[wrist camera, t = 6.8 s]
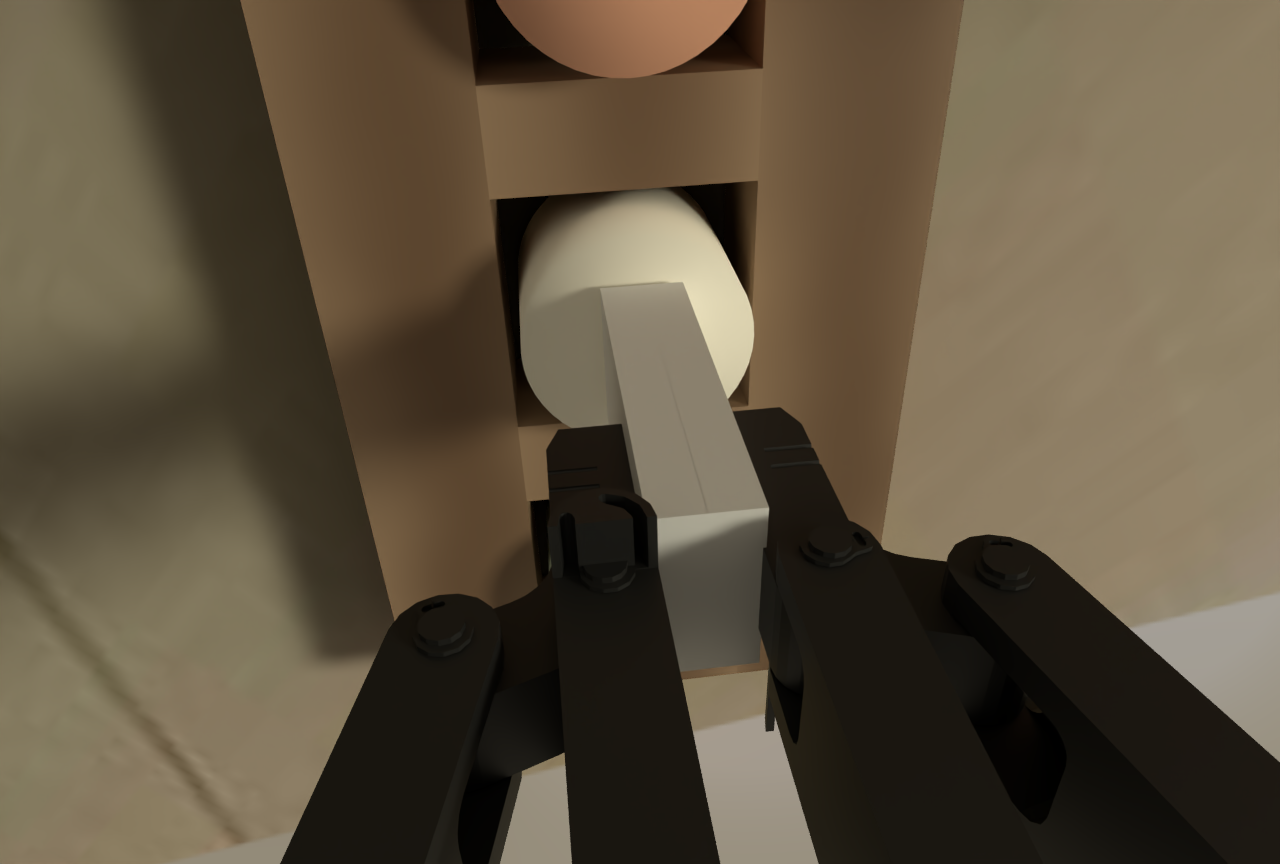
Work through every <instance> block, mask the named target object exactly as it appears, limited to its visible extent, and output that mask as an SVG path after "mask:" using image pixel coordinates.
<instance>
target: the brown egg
mask: <svg viewBox="0 0 1280 864" xmlns="http://www.w3.org/2000/svg"><path fill="white" fill-rule="evenodd" d="M496 1H497V3H498V5H499V7H500V8H501V10H502V11H503V13H504V14H505V15H506V17H507V18H508V19H509V21H510V22H511V23H512V25H513V26H514V27H515V28H516V29H517V30H518V31H519V32H520V33H521V34H522V35H523V36H524V37H525V38H526V40H527V41H529V42H530V43H531V44H532V45H534V46H535V47H536V48H537V49H539V50H540V51H541V52H542V53H544V54H545V55H547V56H549V57H550V58H552V59H554V60H555V61H557V62H558V63H561V64H563V65H565V66H567V67H570V68H572V69H574V70H576V71H580V72H583V73H587V74H590V75H594V76H600V77H607V78H636V77H644V76H650V75H653V74H657V73H661V72H664V71H667V70H669V69H672V68H674V67H677V66H679V65H681V64H683V63H685V62H687V61H688V60H690V59H692V58H693V57H695V56H697V55H699V54H700V53H701V52H702V51H704V50H705V49H706V48H708V47H709V46H710V45H712V44H713V43H714V42H715V41H716V40H717V39H718V38H719V37H720V36H721V35H722V34H723V33H724V32H725V31H726V30H727V29H728V28H729V27H730V25H731V24H732V23H733V21H734V20H735V19H736V18H737V16H738V15H739V14H740V12H741V11H742V9H743V7H744V6H745V4H746V3H747V1H748V0H496Z"/></svg>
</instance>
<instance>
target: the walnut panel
mask: <svg viewBox="0 0 1280 864" xmlns="http://www.w3.org/2000/svg"><path fill="white" fill-rule="evenodd" d="M240 1H241V5H242V9H243V13H244V17H245V21H246V25H247V29H248V33H249V37H250V41H251V45H252V49H253V53H254V57H255V61H256V65H257V69H258V73H259V77H260V81H261V85H262V89H263V93H264V97H265V102H266V106H267V110H268V114H269V118H270V122H271V126H272V130H273V134H274V138H275V142H276V146H277V150H278V154H279V158H280V162H281V166H282V170H283V174H284V178H285V182H286V186H287V190H288V194H289V198H290V202H291V206H292V210H293V214H294V218H295V222H296V226H297V230H298V234H299V238H300V242H301V246H302V251H303V255H304V259H305V263H306V267H307V271H308V275H309V279H310V283H311V287H312V291H313V295H314V299H315V303H316V307H317V311H318V315H319V319H320V323H321V327H322V331H323V335H324V339H325V343H326V347H327V351H328V355H329V359H330V363H331V367H332V371H333V375H334V379H335V383H336V387H337V391H338V395H339V400H340V404H341V408H342V412H343V416H344V420H345V424H346V428H347V432H348V436H349V440H350V444H351V448H352V452H353V456H354V460H355V464H356V468H357V472H358V476H359V480H360V484H361V488H362V492H363V496H364V500H365V504H366V508H367V512H368V516H369V520H370V524H371V528H372V532H373V536H374V540H375V544H376V549H377V553H378V557H379V561H380V565H381V569H382V573H383V577H384V581H385V585H386V589H387V593H388V597H389V601H390V605H391V609H392V613H393V617H394V621H395V620H396V619H397V617H398V616H399V615H400V614H401V613H402V612H404V611H405V610H407V609H408V608H410V607H411V606H412V605H414V604H415V603H417V602H419V601H422V600H425V599H428V598H431V597H434V596H437V595H445V594H458V593H459V594H464V595H468V596H473V597H477V598H479V599H481V600H482V601H484V602H485V603H487V604H488V605H490V606H491V607H492V608H493V609H494V608H496V607H499V606H502V605H505V604H508V603H510V602H513V601H515V600H517V599H519V598H521V597H523V596H525V595H527V594H528V593H530V592H531V591H532V590H534V589H535V588H537V587H538V586H539V585H540V583H541V582H542V581H543V580H544V579H545V578H546V577H547V575H543V576H542V572H541V564H540V556H539V547H538V539H537V531H536V522H535V514H534V505H533V501H535V500H545V499H549V488H548V472H547V457H546V449H547V447H548V445H549V444H550V442H551V440H552V439H553V437H554V436H555V434H556V432H557V431H558V429H569V428H571V427H569V426H567V425H566V424H564V423H562V422H561V421H560V420H559V419H557V418H556V417H555V416H553V415H552V414H551V413H550V412H549V411H548V410H547V409H546V408H545V407H544V406H543V405H542V403H541V402H540V400H539V399H538V398H537V396H536V395H535V394H534V392H533V390H532V388H531V386H530V384H529V382H528V380H527V377H526V374H525V371H524V368H523V363H522V358H520V359H516V354H515V346H514V338H513V329H512V321H511V312H510V304H509V296H508V287H507V279H506V270H505V262H504V254H503V245H502V237H501V229H500V220H499V212H498V203H497V199H506V198H520V197H534V196H548V195H562V194H576V193H590V192H604V191H619V190H633V189H647V188H661V187H675V186H689V185H703V184H717V183H725V205H724V249H723V250H724V252H725V254H726V256H727V257H728V259H729V261H730V263H731V265H732V267H733V269H734V271H735V273H736V275H737V277H738V279H739V281H740V283H741V285H742V287H743V289H744V291H745V293H746V295H747V297H748V300H749V303H750V306H751V309H752V315H753V321H754V341H753V349H752V353H751V357H750V361H749V364H748V366H747V369H746V371H745V374H744V376H743V377H742V379H741V381H740V383H739V384H738V386H737V388H736V389H735V390H734V392H733V393H732V394H731V396H730V397H729V398H728V401H729V404H730V407H731V409H732V411H742V410H753V409H764V408H775V407H781V408H782V409H783V410H785V411H786V412H787V413H788V414H790V415H791V416H792V417H794V418H795V419H796V420H798V421H799V422H800V423H801V424H802V425H803V428H804V430H805V432H806V434H807V436H808V438H809V440H810V442H811V446H812V448H814V450H815V452H816V454H817V456H818V458H819V463H820V464H822V466H823V469H824V471H825V473H826V475H827V477H828V479H829V481H830V483H831V485H832V487H833V489H834V491H835V493H836V495H837V497H838V499H839V501H840V503H841V505H842V507H843V510H844V512H845V514H846V516H847V518H848V520H849V521H852V522H855V523H857V524H858V525H860V526H862V527H863V528H865V529H867V530H868V531H870V532H871V533H872V535H873V536H874V537H875V538H876V539H877V541H878V542H879V543H880V545H881V540H882V533H883V527H884V520H885V514H886V507H887V500H888V494H889V487H890V481H891V474H892V468H893V461H894V455H895V448H896V441H897V435H898V428H899V422H900V415H901V409H902V402H903V396H904V389H905V383H906V376H907V369H908V363H909V356H910V350H911V343H912V337H913V330H914V324H915V317H916V311H917V304H918V297H919V291H920V284H921V278H922V271H923V265H924V258H925V252H926V245H927V238H928V232H929V225H930V219H931V212H932V206H933V199H934V193H935V186H936V180H937V173H938V166H939V160H940V153H941V147H942V140H943V134H944V127H945V121H946V114H947V108H948V101H949V94H950V88H951V81H952V75H953V68H954V62H955V55H956V49H957V42H958V35H959V29H960V22H961V16H962V9H963V3H964V0H748V1H747V3H746V4H745V6H744V7H743V9H742V11H741V12H740V14H739V15H738V16H737V18H736V19H735V20H734V21H733V23H732V24H731V25H730V27H729V28H728V35H721V36H720V37H719V38H718V39H717V40H716V41H715V42H714V43H713V44H712V45H710V46H709V47H708V48H706V49H705V50H704V51H702V52H701V53H700V54H699V55H697V56H695V57H693V58H692V59H690V60H688V61H687V62H685V63H683V64H681V65H679V66H677V67H674V68H672V69H669V70H667V71H664V72H661V73H657V74H653V75H650V76H644V77H636V78H607V77H600V76H594V75H590V74H587V73H583V72H580V71H576V70H574V69H572V68H570V67H567V66H565V65H563V64H561V63H558V62H557V61H555V60H554V59H552V58H550V57H549V56H547V55H545V54H544V53H542V52H541V51H540V50H539V49H537V48H536V47H535V46H525V47H507V48H490V49H479V44H478V36H477V27H476V19H475V10H474V2H473V0H240ZM768 669H769V661H768V657H767V654H766V651H765V648H764V645H763V641H762V638H761V645H760V661H759V663H752V664H743V665H735V666H726V667H717V668H708V669H700V670H691V671H682V672H680V673H681V678H682V680H683V679H692V678H700V677H709V676H717V675H726V674H734V673H743V672H751V671H760V670H768Z"/></svg>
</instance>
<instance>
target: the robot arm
mask: <svg viewBox="0 0 1280 864" xmlns="http://www.w3.org/2000/svg"><path fill="white" fill-rule="evenodd" d="M600 295H601V312H602V329H603V346H604V364H605V381H606V398H607V415H608V422H609V425H602V426H591V427H580V428H569V429H558V431H557V432H556V434H555V436H554V437H553V439H552V440H551V442H550V444H549V445H548V447H547V449H546V457H547V472H548V488H549V503H550V518H549V522H548V526H547V529H548V539H549V548H550V557H551V568H550V570H549V572H548V575H547V577H546V578H545V579H544V580H543V581H542V582H541V583H540V585H539V586H538V587H537V588H535V589H534V590H532V591H531V592H530V593H528V594H527V595H525V596H523V597H521V598H519V599H517V600H515V601H513V602H510V603H508V604H505V605H502V606H499V607H496V608H494V609H493V608H492V607H491V606H490V605H488V604H487V603H485V602H484V601H482V600H481V599H479V598H477V597H473V596H468V595H464V594H459V593H458V594H445V595H437V596H434V597H431V598H428V599H425V600H422V601H419V602H417V603H415V604H414V605H412V606H411V607H410V608H408V609H407V610H405V611H404V612H402V613H401V614H400V615H399V616H398V617H397V619H396V620H395V622H394V623H393V624H392V626H391V627H390V628H389V630H388V632H387V634H386V636H385V638H384V640H383V643H382V645H381V647H380V649H379V651H378V653H377V656H376V658H375V660H374V662H373V664H372V666H371V669H370V671H369V673H368V675H367V677H366V679H365V682H364V684H363V686H362V688H361V690H360V692H359V695H358V697H357V699H356V701H355V703H354V705H353V707H352V710H351V712H350V714H349V716H348V718H347V720H346V723H345V725H344V727H343V729H342V731H341V733H340V736H339V738H338V740H337V742H336V744H335V746H334V749H333V751H332V753H331V755H330V757H329V759H328V761H327V764H326V766H325V768H324V770H323V772H322V774H321V777H320V779H319V781H318V783H317V785H316V787H315V790H314V792H313V794H312V796H311V798H310V800H309V803H308V805H307V807H306V809H305V811H304V813H303V815H302V818H301V820H300V822H299V824H298V826H297V828H296V831H295V833H294V835H293V837H292V839H291V842H290V844H289V846H288V848H287V850H286V852H285V855H284V857H283V859H282V861H281V863H280V864H500V861H501V857H502V853H503V849H504V845H505V841H506V837H507V833H508V829H509V826H510V822H511V818H512V813H513V810H514V806H515V802H516V798H517V794H518V790H519V786H520V782H521V778H522V771H523V770H525V769H528V768H530V767H532V766H535V765H537V764H539V763H541V762H544V761H546V760H548V759H551V758H553V757H555V756H558V755H560V754H562V753H565V766H566V781H567V794H568V809H569V825H570V840H571V854H572V864H720V860H719V855H718V850H717V846H716V841H715V836H714V831H713V826H712V822H711V817H710V812H709V807H708V802H707V798H706V793H705V788H704V783H703V778H702V774H701V769H700V764H699V759H698V754H697V750H696V745H695V740H694V735H693V730H692V726H691V721H690V716H689V711H688V706H687V702H686V697H685V692H684V687H683V683H682V678H681V673H680V672H682V671H691V670H700V669H708V668H717V667H726V666H735V665H743V664H752V663H759V661H760V645H761V638H762V641H763V645H764V648H765V651H766V654H767V657H768V661H769V670H768V684H767V698H766V712H765V727H766V731H774V721H775V718H776V721H777V725H778V728H779V731H780V735H781V738H782V742H783V745H784V748H785V752H786V755H787V758H788V761H789V765H790V769H791V772H792V775H793V779H794V782H795V785H796V789H797V792H798V795H799V799H800V802H801V806H802V809H803V812H804V816H805V819H806V822H807V826H808V829H809V832H810V836H811V839H812V843H813V846H814V849H815V853H816V856H817V859H818V863H819V864H1280V762H1279V761H1277V760H1276V759H1275V758H1274V757H1273V756H1272V755H1271V754H1270V753H1269V752H1267V751H1266V750H1265V749H1264V748H1263V747H1262V746H1261V745H1260V744H1258V743H1257V742H1256V741H1255V740H1254V739H1253V738H1252V737H1251V736H1249V735H1248V734H1247V733H1246V732H1245V731H1244V730H1243V729H1242V728H1241V727H1239V726H1238V725H1237V724H1236V723H1235V722H1234V721H1233V720H1231V719H1230V718H1229V717H1228V716H1227V715H1226V714H1225V713H1224V712H1223V711H1221V710H1220V709H1219V708H1218V707H1217V706H1216V705H1214V704H1213V703H1212V702H1211V701H1210V700H1209V699H1208V698H1207V697H1206V696H1204V695H1203V694H1202V693H1201V692H1200V691H1199V690H1198V689H1197V688H1196V687H1194V686H1193V685H1192V684H1191V683H1190V682H1189V681H1188V680H1187V679H1185V678H1184V677H1183V676H1182V675H1181V674H1180V673H1179V672H1178V671H1176V670H1175V669H1174V668H1173V667H1172V666H1171V665H1170V664H1168V663H1167V662H1166V661H1165V660H1164V659H1163V658H1162V657H1161V656H1160V655H1158V654H1157V653H1156V652H1155V651H1154V650H1153V649H1152V648H1151V647H1149V646H1148V645H1147V644H1146V643H1145V642H1144V641H1143V640H1142V639H1140V638H1139V637H1138V636H1137V635H1136V634H1135V633H1134V632H1133V631H1131V630H1130V629H1129V628H1128V627H1127V626H1126V625H1125V624H1124V623H1122V622H1121V621H1120V620H1119V619H1118V618H1117V617H1116V616H1115V615H1113V614H1112V613H1111V612H1110V611H1109V610H1108V609H1107V608H1106V607H1104V606H1103V605H1102V604H1101V603H1100V602H1099V601H1098V600H1097V599H1096V598H1094V597H1093V596H1092V595H1091V594H1090V593H1089V592H1088V591H1087V590H1085V589H1084V588H1083V587H1082V586H1081V585H1080V584H1079V583H1078V582H1076V581H1075V580H1074V579H1073V578H1072V577H1071V576H1070V575H1069V574H1067V573H1066V572H1065V571H1064V570H1063V569H1062V568H1061V567H1060V566H1058V565H1057V564H1056V563H1055V562H1054V561H1053V560H1052V559H1051V558H1049V557H1048V556H1047V555H1046V554H1044V553H1042V552H1041V551H1039V550H1038V549H1036V548H1035V547H1033V546H1032V545H1030V544H1028V543H1025V542H1022V541H1019V540H1017V539H1014V538H1011V537H1005V536H997V535H981V536H974V537H969V538H967V539H965V540H963V541H961V542H959V543H957V544H955V546H954V547H953V549H952V550H951V552H950V554H949V555H948V559H947V562H945V561H937V560H929V559H921V558H913V557H908V556H903V555H898V554H894V553H891V552H888V551H886V550H883V548H882V547H881V545H880V543H879V542H878V541H877V539H876V538H875V537H874V536H873V535H872V533H871V532H870V531H868V530H867V529H865V528H863V527H862V526H860V525H858V524H857V523H855V522H852V521H849V520H848V518H847V516H846V514H845V512H844V510H843V507H842V505H841V503H840V501H839V499H838V497H837V495H836V493H835V491H834V489H833V487H832V485H831V483H830V481H829V479H828V477H827V475H826V473H825V471H824V469H823V466H822V464H820V463H819V458H818V456H817V454H816V452H815V450H814V448H812V446H811V442H810V440H809V438H808V436H807V434H806V432H805V430H804V428H803V425H802V424H801V423H800V422H799V421H798V420H796V419H795V418H794V417H792V416H791V415H790V414H788V413H787V412H786V411H785V410H783V409H782V408H781V407H775V408H764V409H753V410H742V411H732V409H731V407H730V404H729V401H728V399H727V396H726V393H725V391H724V388H723V386H722V383H721V380H720V378H719V375H718V373H717V370H716V367H715V365H714V362H713V359H712V357H711V354H710V352H709V349H708V346H707V344H706V341H705V338H704V336H703V333H702V331H701V328H700V325H699V323H698V320H697V318H696V315H695V312H694V310H693V307H692V304H691V302H690V299H689V297H688V294H687V291H686V289H685V286H684V283H683V282H674V283H661V284H648V285H636V286H623V287H610V288H600Z"/></svg>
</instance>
